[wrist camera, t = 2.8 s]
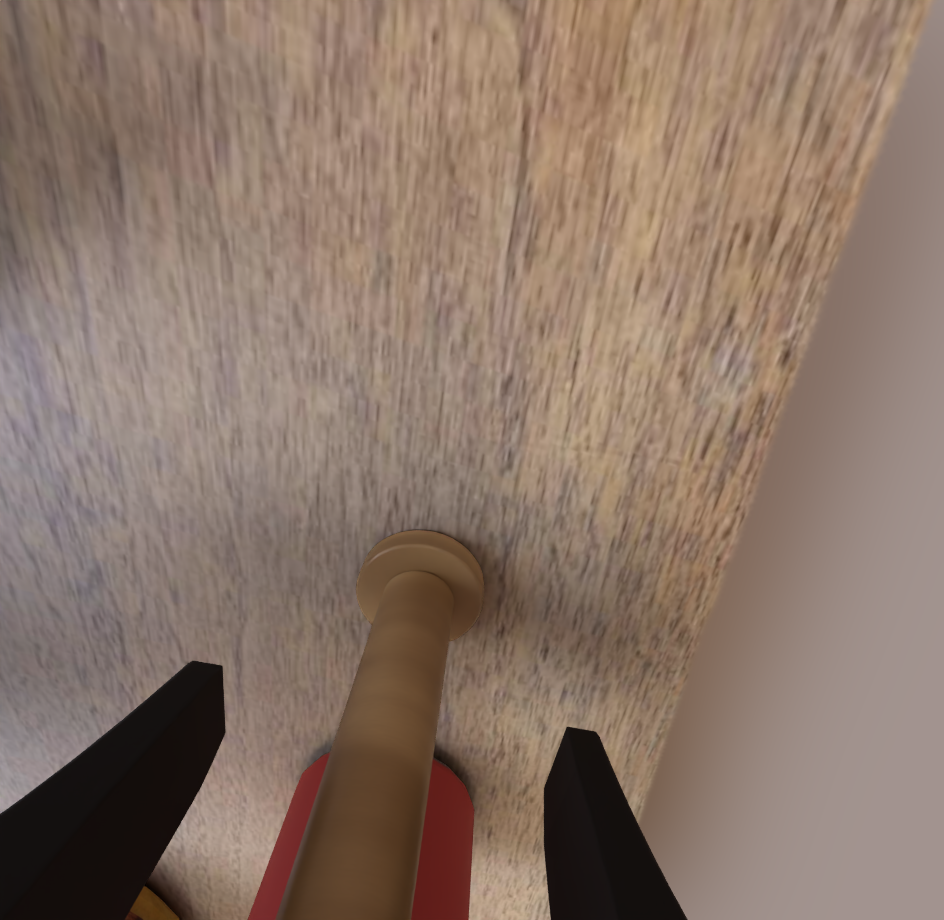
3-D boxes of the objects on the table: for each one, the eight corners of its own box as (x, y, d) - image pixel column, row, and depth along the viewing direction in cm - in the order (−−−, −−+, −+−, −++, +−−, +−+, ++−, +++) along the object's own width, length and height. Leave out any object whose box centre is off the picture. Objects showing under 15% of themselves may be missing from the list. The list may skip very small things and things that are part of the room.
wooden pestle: (472, 636, 16) (411, 1385, 6) (357, 616, 16) (87, 1339, 6) (494, 541, 15) (465, 1330, 4) (367, 518, 14) (23, 1261, 4)
